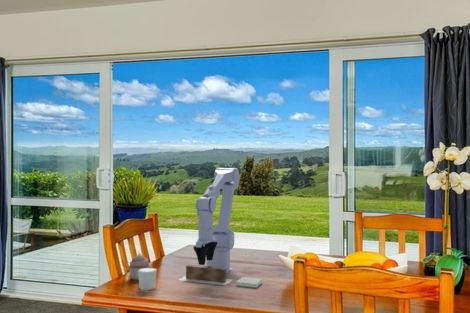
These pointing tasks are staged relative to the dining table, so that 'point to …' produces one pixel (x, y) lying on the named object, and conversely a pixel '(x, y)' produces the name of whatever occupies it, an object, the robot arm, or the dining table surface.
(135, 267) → the cupcake
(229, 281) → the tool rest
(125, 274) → the dining table surface
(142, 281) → the shot glass
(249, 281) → the tile
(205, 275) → the bar
